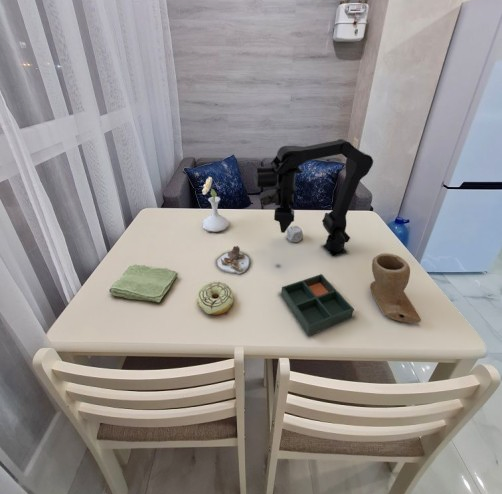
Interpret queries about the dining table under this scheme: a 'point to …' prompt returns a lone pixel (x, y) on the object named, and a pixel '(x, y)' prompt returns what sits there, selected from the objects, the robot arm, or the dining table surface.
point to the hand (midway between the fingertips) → (283, 225)
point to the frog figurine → (234, 261)
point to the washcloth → (144, 283)
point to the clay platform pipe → (392, 287)
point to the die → (294, 233)
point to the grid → (316, 304)
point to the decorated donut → (217, 304)
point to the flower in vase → (213, 211)
